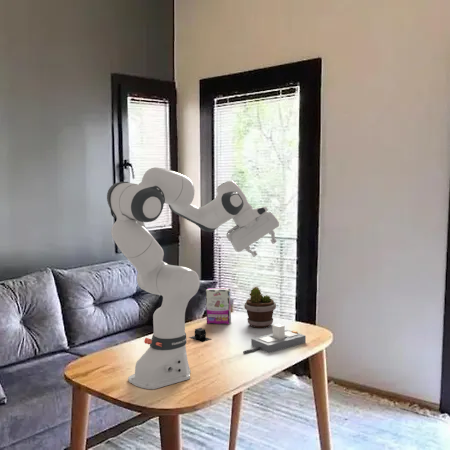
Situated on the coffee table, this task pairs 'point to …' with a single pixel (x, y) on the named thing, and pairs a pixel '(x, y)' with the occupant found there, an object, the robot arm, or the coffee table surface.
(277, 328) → the plug
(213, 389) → the coffee table surface
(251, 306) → the flowerpot
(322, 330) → the coffee table surface
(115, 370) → the coffee table surface
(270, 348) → the power strip
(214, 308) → the candy bar box
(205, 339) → the black boxy piece
